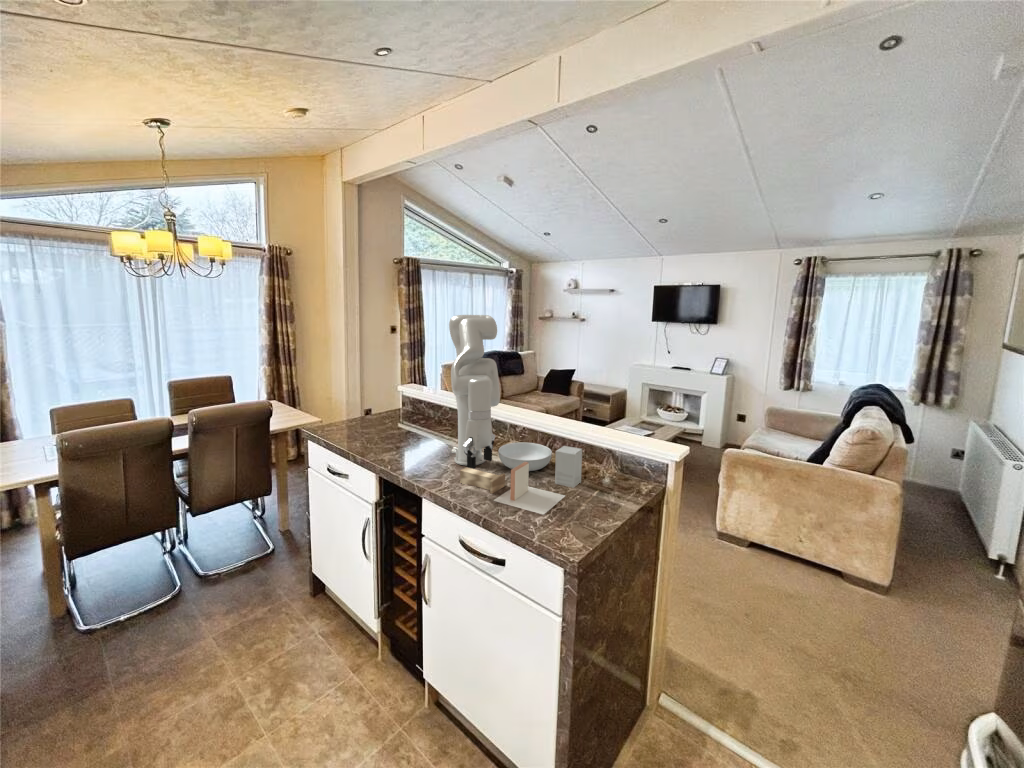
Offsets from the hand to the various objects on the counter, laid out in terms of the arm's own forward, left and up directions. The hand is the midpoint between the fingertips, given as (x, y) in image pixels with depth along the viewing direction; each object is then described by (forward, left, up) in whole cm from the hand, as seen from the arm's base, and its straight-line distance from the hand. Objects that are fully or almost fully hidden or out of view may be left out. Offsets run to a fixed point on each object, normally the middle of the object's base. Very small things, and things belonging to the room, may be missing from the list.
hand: (479, 463), depth 150 cm
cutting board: (+19, +1, -9) cm, 21 cm away
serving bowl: (+3, +26, -9) cm, 27 cm away
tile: (+15, +1, -8) cm, 17 cm away
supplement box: (+24, +20, -9) cm, 32 cm away
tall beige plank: (0, +1, -9) cm, 9 cm away
